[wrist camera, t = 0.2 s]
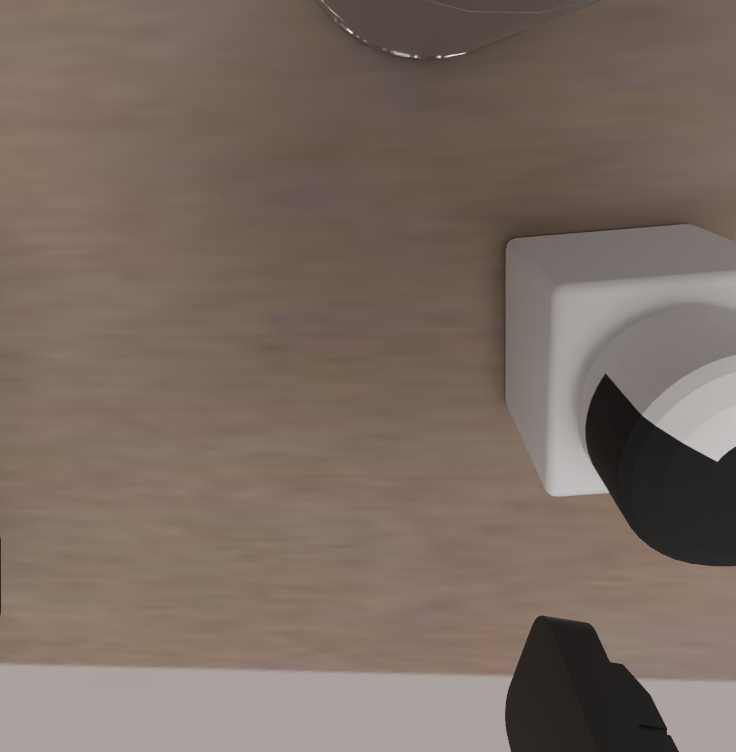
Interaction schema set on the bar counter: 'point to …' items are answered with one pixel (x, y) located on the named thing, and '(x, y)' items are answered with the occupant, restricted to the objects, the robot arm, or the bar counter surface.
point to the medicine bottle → (631, 377)
